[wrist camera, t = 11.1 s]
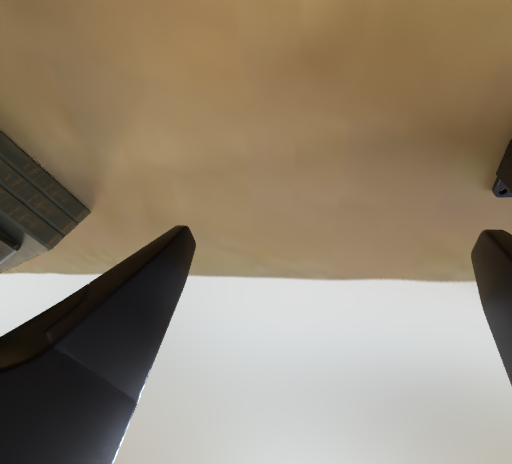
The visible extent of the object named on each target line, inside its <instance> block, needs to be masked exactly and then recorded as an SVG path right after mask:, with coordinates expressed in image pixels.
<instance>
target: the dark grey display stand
mask: <svg viewBox="0 0 512 464" xmlns="http://www.w3.org/2000/svg"><path fill="white" fill-rule="evenodd" d="M90 213H91V212H90V211H89V210H88V209H87V208H86V207H84V206H83V205H82V204H81V203H80V202H79V201H78V200H77V199H76V198H74V197H73V196H72V195H71V194H70V193H69V192H68V191H67V190H66V189H64V188H63V187H62V186H61V185H60V184H59V183H58V182H57V181H56V180H54V179H53V178H52V177H51V176H50V175H49V174H48V173H47V172H46V171H44V170H43V169H42V168H41V167H40V166H39V165H38V164H37V163H35V162H34V161H33V160H32V159H31V158H30V157H29V156H28V155H27V154H25V153H24V152H23V151H22V150H21V149H20V148H19V147H18V146H17V145H15V144H14V143H13V142H12V141H11V140H10V139H9V138H8V137H7V136H5V135H4V134H3V133H2V132H1V131H0V273H2V272H4V271H6V270H9V269H11V268H13V267H15V266H17V265H19V264H21V263H23V262H26V261H28V260H30V259H32V258H34V257H36V256H38V255H41V254H43V253H45V252H47V251H49V250H51V249H52V248H53V247H54V246H56V245H57V244H58V243H59V242H60V241H61V240H62V239H63V238H64V237H65V236H66V235H67V234H68V233H70V232H71V231H72V230H73V229H74V228H75V227H76V226H77V225H78V223H80V222H81V221H82V220H83V219H85V218H86V217H87V216H88V215H89V214H90Z"/></svg>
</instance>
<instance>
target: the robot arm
mask: <svg viewBox="0 0 512 464" xmlns="http://www.w3.org/2000/svg"><path fill="white" fill-rule="evenodd" d="M496 175H497V178H496V181H495V183H494V185H493V188H492V192H493V194H494V195H495V196H496V197H512V139H511V140H510V142H509V144H508V147H507V149H506V151H505V154H504V156H503V158H502V161H501V163H500V165H499V168H498V170H497V172H496ZM504 188H505V189H504ZM501 189H504V190H502V191H500V190H501ZM195 248H196V243H195V240H194V237H193V235H192V233H191V231H190V229H189V227H188V226H180V225H178V226H175V227H174V228H172V229H171V230H169V231H168V232H166V233H165V234H163V235H161V236H160V237H158V238H157V239H155V240H154V241H152V242H151V243H149V244H148V245H146V246H145V247H143V248H142V249H140V250H139V251H137V252H136V253H134V254H133V255H131V256H130V257H128V258H127V259H125V260H124V261H122V262H120V263H119V264H117V265H116V266H114V267H113V268H111V269H110V270H108V271H107V272H105V273H104V274H102V275H101V276H99V277H98V278H96V279H95V280H93V281H92V282H90V283H89V284H87V285H85V286H84V287H82V288H81V289H79V290H78V291H76V292H75V293H73V294H72V295H70V296H69V297H67V298H65V299H64V300H63V301H61V302H59V303H57V304H56V305H54V306H52V307H51V308H49V309H47V310H46V311H44V312H42V313H41V314H39V315H37V316H35V317H34V318H32V319H30V320H29V321H27V322H25V323H24V324H22V325H20V326H19V327H17V328H15V329H13V330H12V331H10V332H8V333H6V334H5V335H3V336H1V337H0V464H113V463H114V460H115V458H116V455H117V453H118V450H119V448H120V445H121V443H122V440H123V438H124V435H125V433H126V430H127V428H128V425H129V423H130V420H131V418H132V415H133V413H134V410H135V408H136V405H137V402H138V400H139V398H140V395H141V393H142V390H143V388H144V385H145V382H146V380H147V378H148V375H149V373H150V370H151V368H152V365H153V363H154V360H155V358H156V355H157V353H158V350H159V348H160V345H161V343H162V340H163V338H164V335H165V333H166V330H167V328H168V326H169V323H170V320H171V318H172V315H173V313H174V311H175V308H176V305H177V303H178V301H179V298H180V296H181V293H182V291H183V288H184V285H185V283H186V279H187V276H188V273H189V269H190V266H191V262H192V259H193V255H194V252H195ZM471 260H472V264H473V268H474V273H475V277H476V282H477V286H478V290H479V294H480V299H481V303H482V306H483V310H484V313H485V316H486V319H487V321H488V324H489V327H490V329H491V332H492V334H493V337H494V340H495V342H496V345H497V348H498V351H499V353H500V356H501V359H502V361H503V364H504V367H505V369H506V372H507V375H508V377H509V380H510V383H511V385H512V235H511V234H509V233H508V232H506V231H504V230H484V231H482V232H481V234H480V235H479V237H478V240H477V242H476V244H475V246H474V248H473V250H472V253H471Z"/></svg>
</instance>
